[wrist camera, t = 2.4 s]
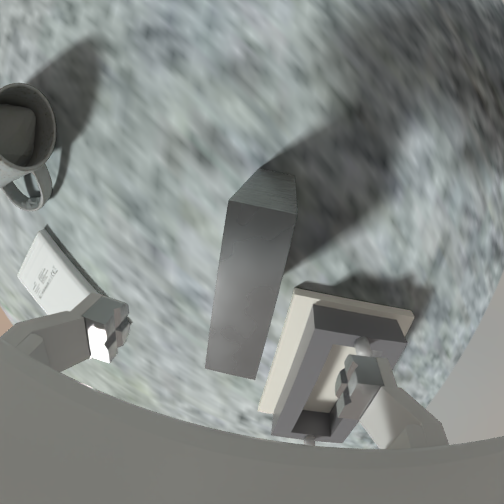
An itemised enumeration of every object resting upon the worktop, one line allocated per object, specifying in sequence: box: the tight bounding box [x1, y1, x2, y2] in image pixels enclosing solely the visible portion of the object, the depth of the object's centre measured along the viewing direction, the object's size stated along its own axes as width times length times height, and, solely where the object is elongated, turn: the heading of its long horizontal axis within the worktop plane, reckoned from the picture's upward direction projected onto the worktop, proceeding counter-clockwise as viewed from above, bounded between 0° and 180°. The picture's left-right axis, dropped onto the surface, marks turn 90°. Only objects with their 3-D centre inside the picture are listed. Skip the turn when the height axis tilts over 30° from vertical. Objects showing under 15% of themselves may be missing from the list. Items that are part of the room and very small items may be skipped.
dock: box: [258, 288, 415, 446], centre depth 23 cm, size 14×10×5 cm
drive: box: [205, 168, 298, 380], centre depth 16 cm, size 8×2×10 cm, turn 170°
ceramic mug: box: [0, 83, 56, 211], centre depth 17 cm, size 11×8×8 cm
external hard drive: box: [18, 229, 99, 360], centre depth 26 cm, size 2×8×12 cm
